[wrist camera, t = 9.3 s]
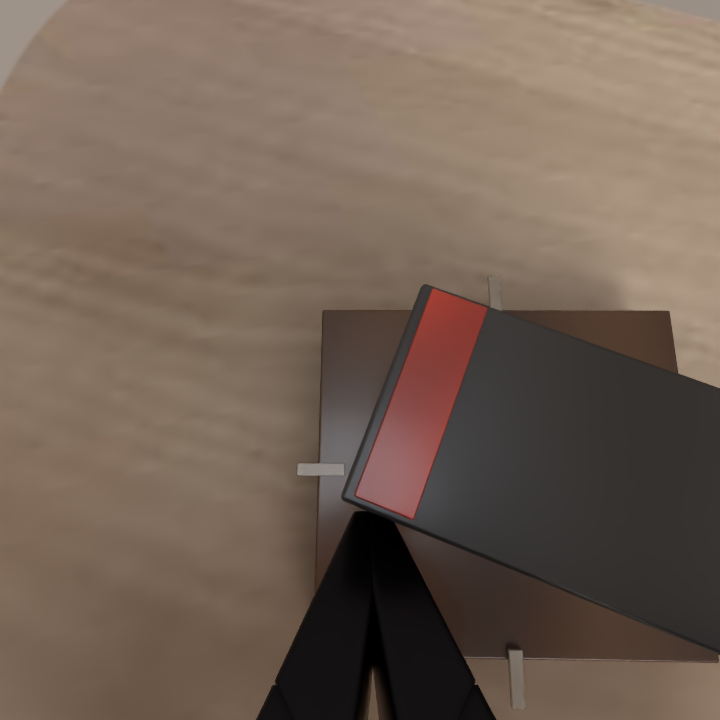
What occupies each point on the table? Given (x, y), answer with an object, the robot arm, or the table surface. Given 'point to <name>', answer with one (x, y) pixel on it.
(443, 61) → the table surface
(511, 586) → the swivel stand
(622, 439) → the dark grey block
